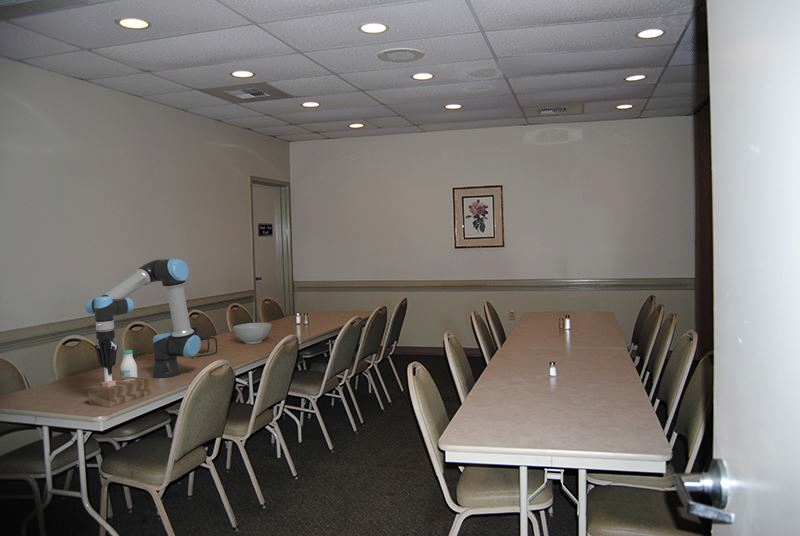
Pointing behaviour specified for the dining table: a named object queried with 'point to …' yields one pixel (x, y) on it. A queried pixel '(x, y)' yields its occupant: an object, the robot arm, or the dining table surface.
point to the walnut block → (119, 392)
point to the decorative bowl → (252, 332)
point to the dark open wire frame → (204, 339)
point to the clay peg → (108, 384)
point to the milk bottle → (128, 365)
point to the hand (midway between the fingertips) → (108, 381)
